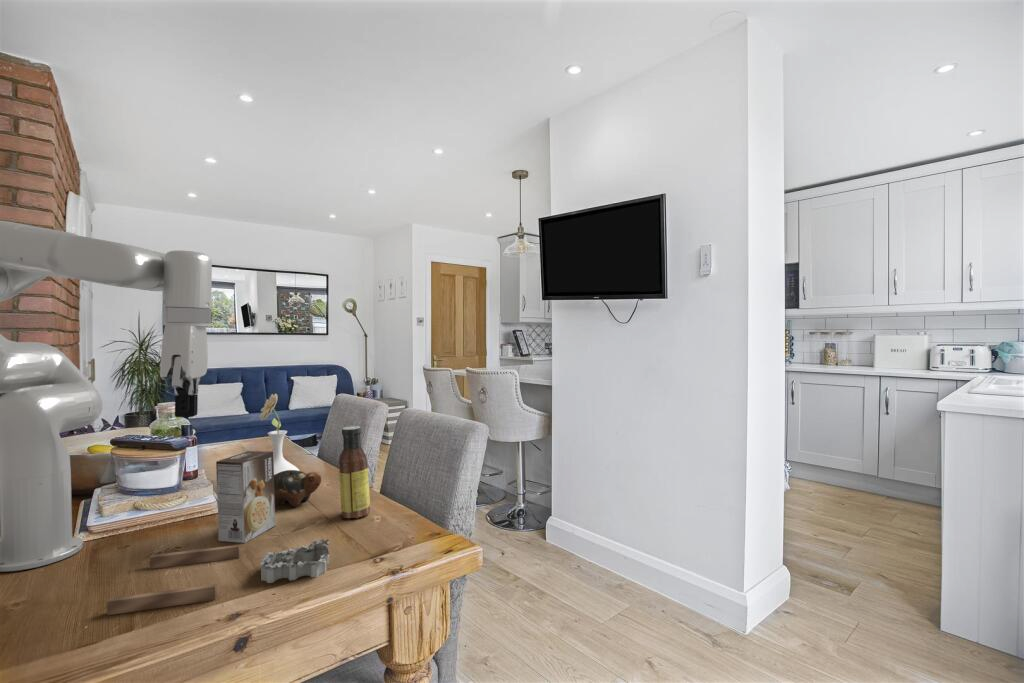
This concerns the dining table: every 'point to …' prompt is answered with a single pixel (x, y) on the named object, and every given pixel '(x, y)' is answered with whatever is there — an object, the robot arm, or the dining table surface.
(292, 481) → the decorative turtle
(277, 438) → the flower in vase
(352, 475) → the sauce bottle
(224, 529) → the coffee box
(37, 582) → the dining table surface
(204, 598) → the pair of wooden bars
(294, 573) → the egg carton
